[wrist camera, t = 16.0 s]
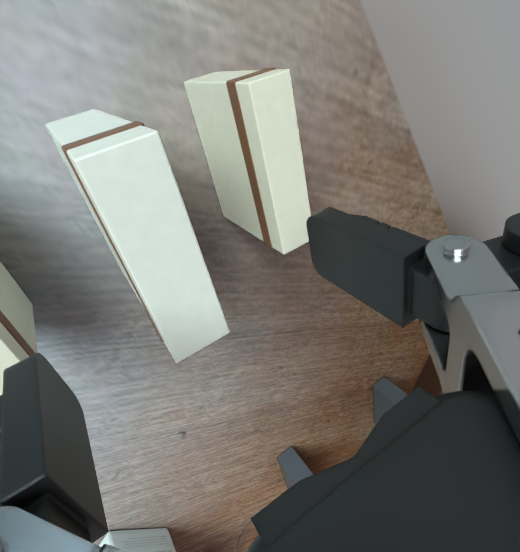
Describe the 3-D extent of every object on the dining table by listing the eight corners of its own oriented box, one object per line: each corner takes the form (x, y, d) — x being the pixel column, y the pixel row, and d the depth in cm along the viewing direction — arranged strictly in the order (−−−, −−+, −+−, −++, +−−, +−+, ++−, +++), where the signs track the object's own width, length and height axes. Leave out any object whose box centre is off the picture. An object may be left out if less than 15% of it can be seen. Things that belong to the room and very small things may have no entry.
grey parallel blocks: (384, 376, 44) (435, 416, 39) (385, 414, 49) (431, 455, 44) (276, 457, 39) (318, 515, 34) (288, 491, 44) (327, 548, 38)
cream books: (216, 70, 20) (291, 66, 15) (249, 205, 25) (315, 239, 19) (-133, 177, 15) (-212, 232, 9) (-7, 323, 19) (-13, 415, 14)
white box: (95, 107, 18) (159, 127, 10) (157, 247, 22) (232, 333, 15) (42, 123, 17) (69, 158, 9) (117, 265, 22) (176, 366, 14)
